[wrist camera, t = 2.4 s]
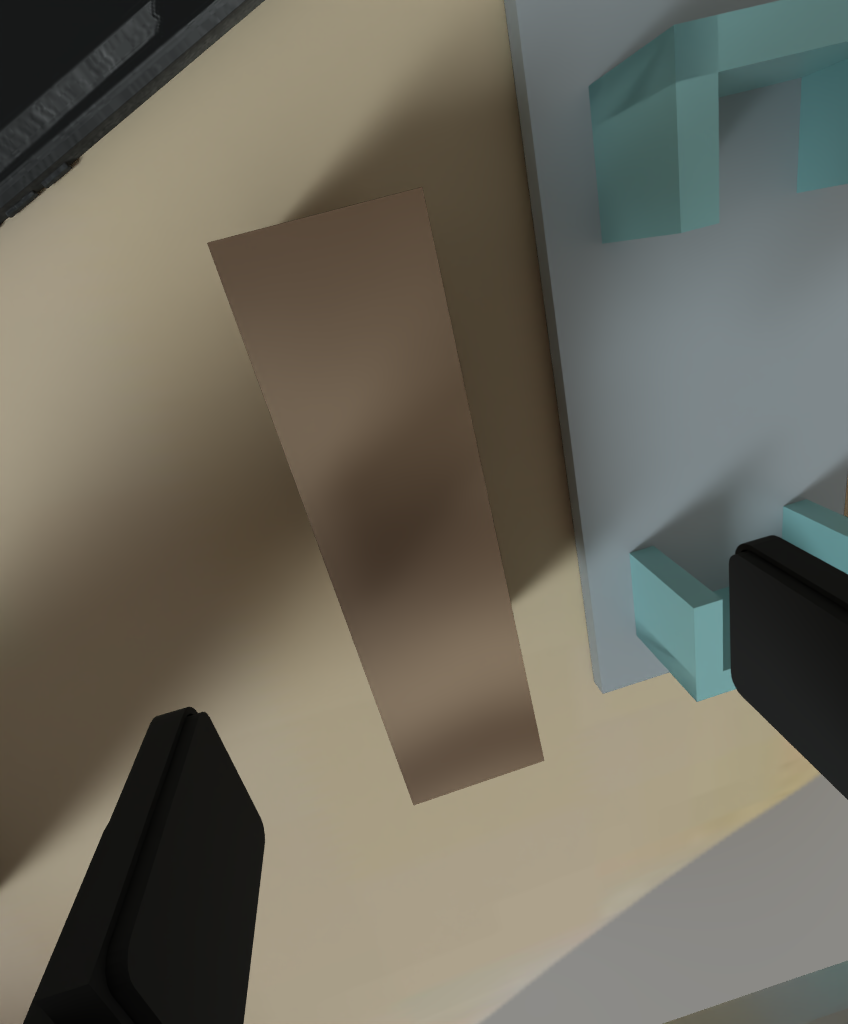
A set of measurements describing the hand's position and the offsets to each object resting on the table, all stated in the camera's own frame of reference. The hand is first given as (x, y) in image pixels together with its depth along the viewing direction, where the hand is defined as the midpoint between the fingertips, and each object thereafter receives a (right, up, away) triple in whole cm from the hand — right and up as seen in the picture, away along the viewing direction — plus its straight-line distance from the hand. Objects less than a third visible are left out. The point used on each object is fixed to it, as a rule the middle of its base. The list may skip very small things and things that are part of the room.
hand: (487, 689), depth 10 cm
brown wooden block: (-3, +4, +10) cm, 11 cm away
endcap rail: (+9, +8, +10) cm, 16 cm away
